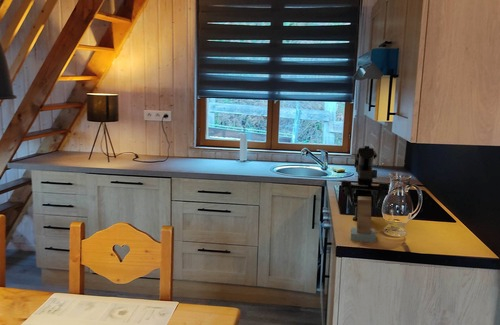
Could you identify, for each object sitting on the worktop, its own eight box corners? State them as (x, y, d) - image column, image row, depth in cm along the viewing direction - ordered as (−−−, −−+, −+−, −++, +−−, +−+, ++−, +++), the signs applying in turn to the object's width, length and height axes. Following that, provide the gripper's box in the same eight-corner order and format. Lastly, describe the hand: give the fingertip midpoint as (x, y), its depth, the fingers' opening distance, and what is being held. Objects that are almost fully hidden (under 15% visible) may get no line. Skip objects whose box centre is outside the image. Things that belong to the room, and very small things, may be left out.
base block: (350, 234, 178) (351, 226, 178) (374, 236, 177) (374, 228, 176) (350, 241, 170) (351, 234, 169) (375, 243, 168) (375, 236, 167)
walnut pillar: (357, 228, 176) (357, 196, 174) (370, 229, 175) (371, 196, 172) (357, 232, 171) (357, 199, 169) (370, 233, 170) (371, 200, 168)
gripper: (342, 160, 181) (340, 193, 173) (390, 163, 177) (390, 197, 169) (341, 175, 190) (339, 208, 182) (387, 178, 186) (387, 211, 178)
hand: (364, 206), depth 177 cm, fingers open, 9 cm apart
